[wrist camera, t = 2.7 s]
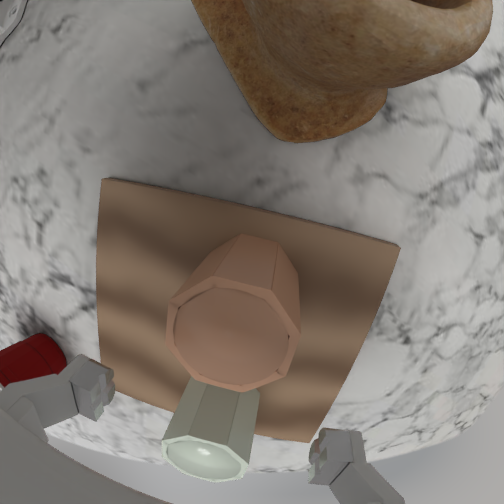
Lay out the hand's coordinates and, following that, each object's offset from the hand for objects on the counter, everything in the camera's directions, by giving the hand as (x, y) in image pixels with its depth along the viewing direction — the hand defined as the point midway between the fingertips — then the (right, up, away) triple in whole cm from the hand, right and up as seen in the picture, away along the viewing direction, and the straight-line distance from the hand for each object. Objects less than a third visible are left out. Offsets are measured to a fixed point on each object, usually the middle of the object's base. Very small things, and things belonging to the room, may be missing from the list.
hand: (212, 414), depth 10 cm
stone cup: (+5, +21, +8) cm, 23 cm away
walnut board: (-1, -1, +15) cm, 15 cm away
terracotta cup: (+1, +4, +12) cm, 13 cm away
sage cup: (-1, -7, +16) cm, 17 cm away
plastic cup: (-23, -6, +19) cm, 31 cm away
